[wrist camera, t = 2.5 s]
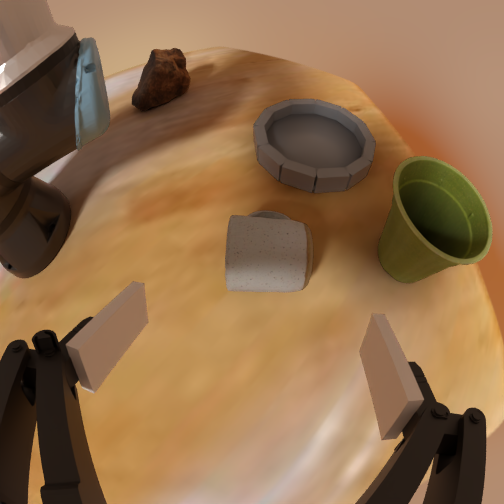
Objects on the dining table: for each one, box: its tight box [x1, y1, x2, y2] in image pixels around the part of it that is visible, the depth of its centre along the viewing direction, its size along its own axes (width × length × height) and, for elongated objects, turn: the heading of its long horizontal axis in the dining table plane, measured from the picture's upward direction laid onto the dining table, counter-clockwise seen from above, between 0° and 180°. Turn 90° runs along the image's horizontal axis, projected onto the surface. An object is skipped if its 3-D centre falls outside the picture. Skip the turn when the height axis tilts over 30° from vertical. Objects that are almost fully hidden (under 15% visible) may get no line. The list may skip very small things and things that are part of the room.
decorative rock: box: [132, 48, 190, 112], centre depth 41 cm, size 12×6×11 cm, turn 124°
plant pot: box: [378, 156, 492, 283], centre depth 25 cm, size 12×12×11 cm
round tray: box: [253, 99, 376, 193], centre depth 37 cm, size 17×17×3 cm
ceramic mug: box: [225, 211, 313, 292], centre depth 28 cm, size 10×8×7 cm
